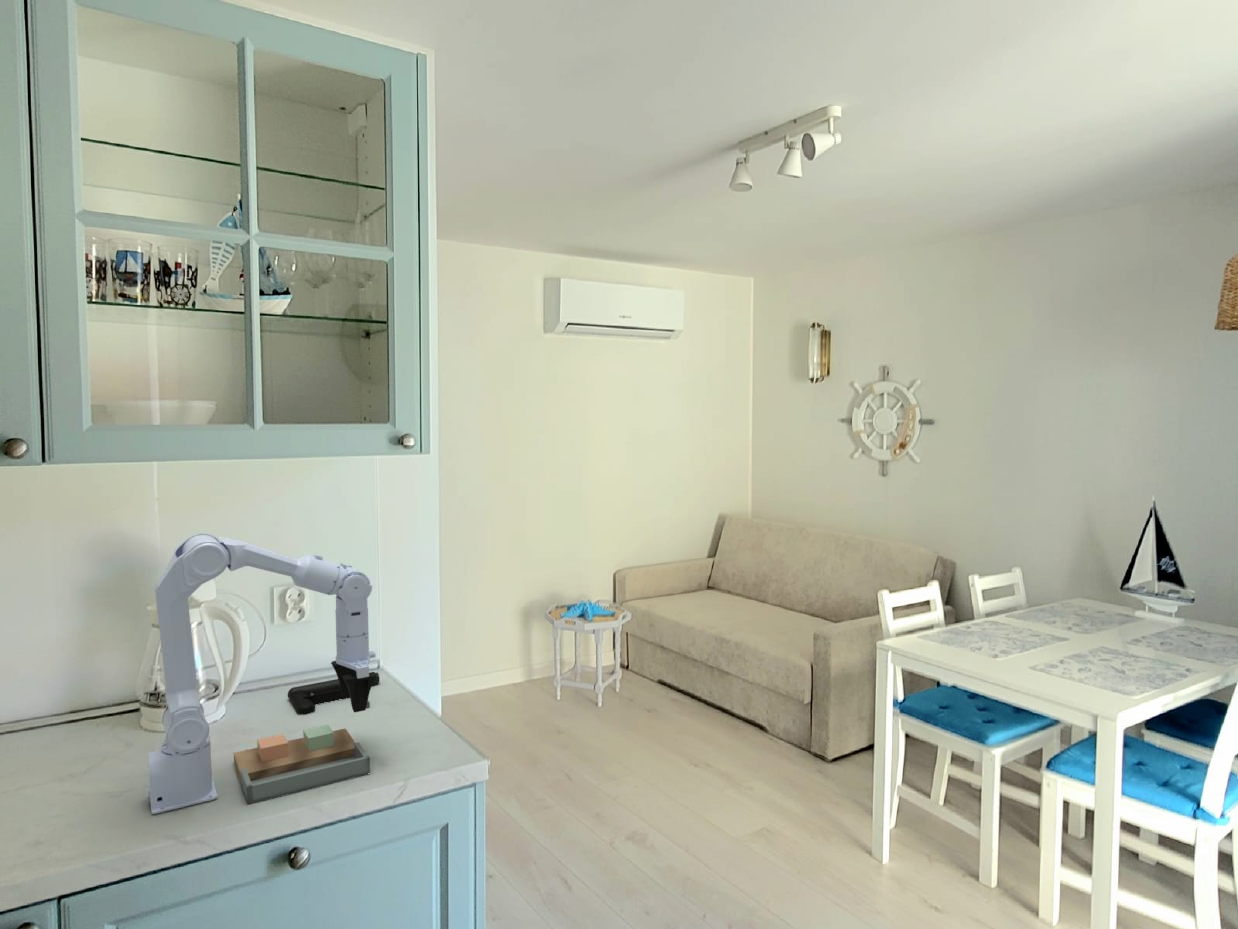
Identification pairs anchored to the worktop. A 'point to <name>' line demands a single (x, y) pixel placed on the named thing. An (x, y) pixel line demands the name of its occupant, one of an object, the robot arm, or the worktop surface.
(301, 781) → the tray
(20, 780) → the worktop surface
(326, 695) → the door handle
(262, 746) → the terracotta tile
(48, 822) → the worktop surface
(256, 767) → the walnut board
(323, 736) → the sage tile
